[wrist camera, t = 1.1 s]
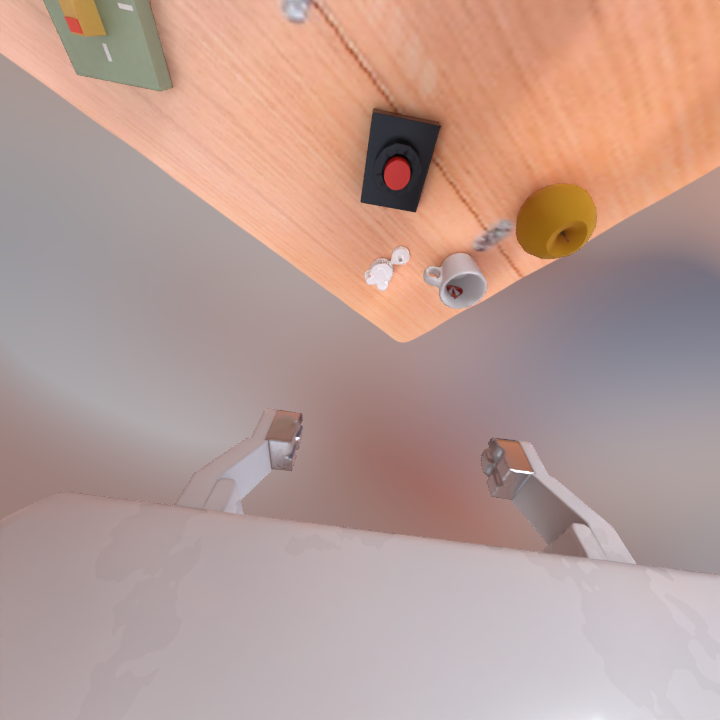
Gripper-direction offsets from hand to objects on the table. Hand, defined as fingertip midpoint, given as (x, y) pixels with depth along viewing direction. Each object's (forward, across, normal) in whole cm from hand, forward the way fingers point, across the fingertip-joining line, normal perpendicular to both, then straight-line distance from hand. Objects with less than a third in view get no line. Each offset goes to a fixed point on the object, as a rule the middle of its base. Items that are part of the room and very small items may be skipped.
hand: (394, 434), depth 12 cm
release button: (+40, 0, -9) cm, 41 cm away
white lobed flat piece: (+48, -1, +7) cm, 49 cm away
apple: (+45, -24, -7) cm, 51 cm away
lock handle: (+36, +35, -21) cm, 54 cm away
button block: (+43, 0, -10) cm, 44 cm away
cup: (+48, -13, +4) cm, 50 cm away
